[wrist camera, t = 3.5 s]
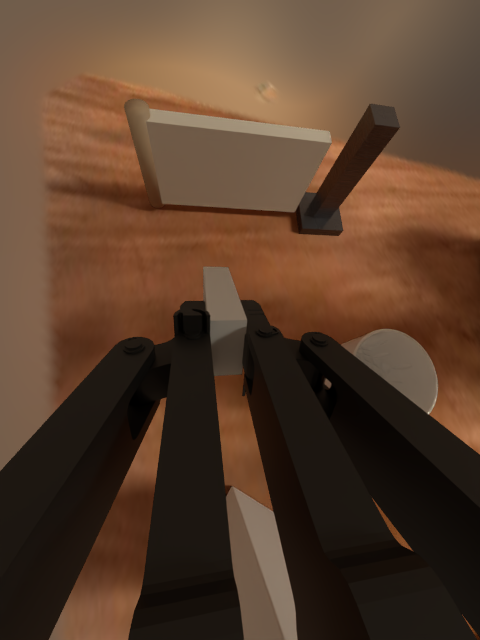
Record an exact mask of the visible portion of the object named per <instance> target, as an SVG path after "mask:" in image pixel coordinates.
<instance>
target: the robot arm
mask: <svg viewBox="0 0 480 640" xmlns="http://www.w3.org/2000/svg"><path fill="white" fill-rule="evenodd" d="M173 316H174V331H175V337H174V338H173V339H172V340H170V341H168V342H165V343H162V344H158V345H154V343H153V341H151V340H150V339H148V338H144V337H132V338H128V339H125V340H123V341H120V342H119V343H118V344H116V345H115V346H114V347H113V348H112V349H111V351H110V352H109V353H108V354H107V355H106V356H105V357H104V358H103V359H102V360H101V362H100V363H99V364H98V365H97V366H96V367H95V368H94V369H93V370H92V371H91V372H90V374H89V375H88V376H87V377H86V378H85V379H84V380H83V381H82V382H81V383H80V384H79V386H78V387H77V388H76V389H75V390H74V391H73V392H72V393H71V394H70V395H69V397H68V398H67V399H66V400H65V401H64V402H63V403H62V404H61V405H60V406H59V407H58V409H57V410H56V411H55V412H54V413H53V414H52V415H51V416H50V417H49V418H48V419H47V421H46V422H45V423H44V424H43V425H42V426H41V427H40V428H39V429H38V430H37V432H36V433H35V434H34V435H33V436H32V437H31V438H30V439H29V440H28V441H27V442H26V444H25V445H24V446H23V447H22V448H21V449H20V450H19V451H18V452H17V454H16V455H15V456H14V457H13V458H12V459H11V460H10V461H9V462H8V463H7V464H6V465H5V467H4V468H3V469H2V470H1V471H0V640H49V638H50V635H51V633H52V631H53V629H54V627H55V625H56V623H57V621H58V618H59V616H60V614H61V612H62V610H63V608H64V606H65V604H66V601H67V599H68V597H69V595H70V593H71V591H72V589H73V587H74V584H75V582H76V580H77V578H78V576H79V574H80V572H81V570H82V568H83V565H84V563H85V561H86V559H87V557H88V555H89V553H90V551H91V548H92V546H93V544H94V542H95V540H96V538H97V536H98V534H99V531H100V529H101V527H102V525H103V523H104V521H105V519H106V517H107V514H108V512H109V510H110V508H111V506H112V504H113V502H114V500H115V497H116V495H117V493H118V491H119V489H120V487H121V485H122V483H123V480H124V478H125V476H126V474H127V472H128V470H129V468H130V466H131V463H132V461H133V459H134V457H135V455H136V453H137V451H138V449H139V446H140V444H141V442H142V440H143V438H144V436H145V434H146V432H147V430H148V427H149V425H150V423H151V421H152V419H153V417H154V415H155V413H156V410H157V408H158V406H159V404H160V399H162V398H165V397H167V399H166V407H165V415H164V423H163V431H162V439H161V446H160V454H159V462H158V470H157V478H156V485H155V493H154V501H153V509H152V517H151V525H150V532H149V540H148V548H147V556H146V564H145V572H144V579H143V585H142V590H141V594H140V598H139V600H138V603H137V605H136V608H135V610H134V615H133V619H132V623H131V628H130V633H129V639H128V640H244V634H243V625H242V617H241V609H240V602H239V596H238V590H237V586H236V582H235V578H234V572H233V565H232V555H231V545H230V535H229V524H228V514H227V504H226V494H225V483H224V473H223V463H222V452H221V442H220V432H219V421H218V411H217V401H216V390H215V380H214V376H220V375H239V374H242V369H243V368H244V372H245V374H244V384H243V394H242V396H245V392H246V394H247V399H248V403H249V407H250V412H251V416H252V420H253V425H254V429H255V433H256V438H257V442H258V446H259V451H260V455H261V459H262V464H263V468H264V472H265V477H266V481H267V485H268V490H269V494H270V498H271V503H272V507H273V511H274V516H275V520H276V524H277V529H278V533H279V537H280V542H281V546H282V550H283V555H284V559H285V563H286V568H287V572H288V576H289V581H290V585H291V589H292V594H293V599H294V604H295V611H296V631H297V639H298V640H477V639H476V637H475V635H474V634H473V632H472V630H471V629H470V627H469V625H468V624H467V622H466V620H467V621H468V623H469V624H470V625H471V626H472V628H473V629H474V630H475V632H476V633H477V634H478V636H479V637H480V455H479V454H478V453H477V452H476V451H474V450H473V449H472V448H470V447H469V446H468V445H467V444H465V443H464V442H463V441H462V440H460V439H459V438H458V437H457V436H455V435H454V434H453V433H451V432H450V431H449V430H448V429H446V428H445V427H444V426H443V425H441V424H440V423H439V422H438V421H436V420H435V419H434V418H433V417H431V416H430V415H429V414H427V413H426V412H425V411H424V410H422V409H421V408H420V407H419V406H417V405H416V404H415V403H414V402H412V401H411V400H410V399H408V398H407V397H406V396H405V395H403V394H402V393H401V392H400V391H398V390H397V389H396V388H395V387H393V386H392V385H391V384H389V383H388V382H387V381H386V380H384V379H383V378H382V377H381V376H379V375H378V374H377V373H376V372H374V371H373V370H372V369H370V368H369V367H368V366H367V365H365V364H364V363H363V362H362V361H360V360H359V359H358V358H357V357H355V356H354V355H353V354H351V353H350V352H349V351H348V350H346V349H345V348H344V347H343V346H341V345H340V344H339V343H338V342H336V341H335V340H334V339H333V338H331V337H329V336H328V335H325V334H323V333H320V332H308V333H305V334H304V335H303V336H302V338H301V341H298V340H292V339H287V338H284V337H283V335H282V333H281V332H280V330H279V329H277V328H276V327H274V326H270V324H269V322H268V320H267V318H266V316H265V315H264V312H263V311H262V308H261V306H260V304H258V303H257V302H255V301H254V300H240V299H239V296H238V293H237V290H236V288H235V285H234V282H233V279H232V277H231V274H230V271H229V268H228V267H203V301H185V302H184V303H183V304H182V305H181V306H180V310H178V311H177V312H175V314H174V315H173ZM326 379H327V380H328V381H329V382H330V383H331V387H330V388H329V387H327V386H326V385H325V384H324V383H325V380H326ZM370 495H371V496H370ZM372 498H373V499H374V501H375V502H376V503H377V504H378V506H379V507H380V508H381V510H382V511H383V512H384V514H385V515H386V516H387V517H388V519H389V520H390V521H391V523H392V524H393V525H394V527H395V528H396V529H397V530H398V532H399V533H400V534H401V536H402V537H403V538H404V539H405V541H406V542H407V543H408V545H409V546H410V547H411V549H412V550H413V551H414V552H413V551H411V550H409V549H407V548H405V547H403V546H401V545H400V544H399V542H398V541H397V540H396V539H395V538H394V536H393V535H392V533H391V532H390V530H389V529H388V527H387V525H386V523H385V521H384V519H383V518H382V516H381V514H380V512H379V510H378V508H377V507H376V505H375V503H374V501H373V499H372ZM462 615H463V616H464V617H465V619H466V620H465V619H464V617H463V616H462Z"/></svg>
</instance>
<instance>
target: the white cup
mask: <svg viewBox="0 0 480 640" xmlns="http://www.w3.org/2000/svg"><path fill="white" fill-rule="evenodd" d="M341 346H343V347H344V348H345V349H346V350H348V351H349V352H350V353H351V354H353V355H354V356H355V357H357V358H358V359H359V360H360V361H362V362H363V363H364V364H365V365H367V366H368V367H369V368H370V369H372V370H373V371H374V372H376V373H377V374H378V375H379V376H381V377H382V378H383V379H384V380H386V381H387V382H388V383H389V384H391V385H392V386H393V387H395V388H396V389H397V390H398V391H400V392H401V393H402V394H403V395H405V396H406V397H407V398H408V399H410V400H411V401H412V402H414V403H415V404H416V405H417V406H419V407H420V408H421V409H422V410H424V411H425V412H426V413H427V414H430V412H431V411H432V409H433V407H434V405H435V403H436V399H437V394H438V379H437V374H436V370H435V367H434V365H433V362H432V360H431V358H430V357H429V355H428V353H427V352H426V351H425V349H424V348H423V347H422V346H421V345H420V344H419V343H418V342H417V341H416V340H415V339H413V338H412V337H410V336H409V335H407V334H405V333H403V332H401V331H398V330H393V329H379V330H375V331H373V332H370V333H368V334H365V335H363V336H360V337H358V338H355V339H353V340H350V341H348V342H345V343H343V344H341ZM324 384H325V385H326V386H327V387H329V388H330V387H331V383H330V382H329V381H328V380H327V379H326V380H325V383H324Z"/></svg>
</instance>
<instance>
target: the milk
mask: <svg viewBox="0 0 480 640" xmlns="http://www.w3.org/2000/svg"><path fill="white" fill-rule="evenodd" d="M226 504H227V514H228V524H229V535H230V545H231V555H232V565H233V572H234V578H235V582H236V586H237V590H238V596H239V602H240V609H241V617H242V625H243V634H244V640H298V639H297V631H296V611H295V604H294V599H293V594H292V589H291V585H290V581H289V576H288V572H287V568H286V563H285V559H284V555H283V550H282V546H281V542H280V537H279V533H278V529H277V524H276V520H275V516H274V512H273V511H271V510H270V509H268V508H266V507H265V506H263V505H262V504H260V503H258V502H257V501H255V500H254V499H252V498H251V497H249V496H247V495H246V494H244V493H243V492H241V491H239V490H238V489H236V488H235V487H233V486H232V487H231V488H230V490H229V492H228V494H227V496H226Z"/></svg>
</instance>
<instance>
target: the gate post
mask: <svg viewBox="0 0 480 640" xmlns="http://www.w3.org/2000/svg"><path fill="white" fill-rule="evenodd" d="M399 128H400V126H399V123H398V119H397V116H396V112H395V109H394V107H389V106H382V105H375V104H370V105H369V106H368V108H367V110H366V112H365V113H364V115H363V117H362V118H361V120H360V121H359V123H358V125H357V126H356V128H355V130H354V131H353V133H352V135H351V136H350V138H349V140H348V141H347V143H346V145H345V146H344V148H343V150H342V151H341V153H340V155H339V156H338V158H337V160H336V161H335V163H334V165H333V167H332V168H331V170H330V172H329V173H328V175H327V177H326V178H325V180H324V182H323V183H322V185H321V187H320V188H319V190H318V192H317V193H308V192H305V194H304V196H303V197H302V199H301V201H300V203H299V205H298V207H297V209H296V213H297V221H298V229H299V234H315V235H335V236H339V235H340V234H341V233H342V231H343V227H342V221H341V216H340V211H339V206H340V205H341V204H342V203H343V201H344V200H345V199H346V197H347V196H348V195H349V193H350V192H351V191H352V189H353V188H354V187H355V186H356V184H357V183H358V182H359V180H360V179H361V178H362V176H363V175H364V174H365V173H366V171H367V170H368V169H369V167H370V166H371V165H372V163H373V162H374V161H375V159H376V158H377V157H378V156H379V154H380V153H381V152H382V150H383V149H384V148H385V146H386V145H387V144H388V143H389V141H390V140H391V138H392V137H393V136H394V135H395V133H396V132H397V131H398V129H399Z"/></svg>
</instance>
